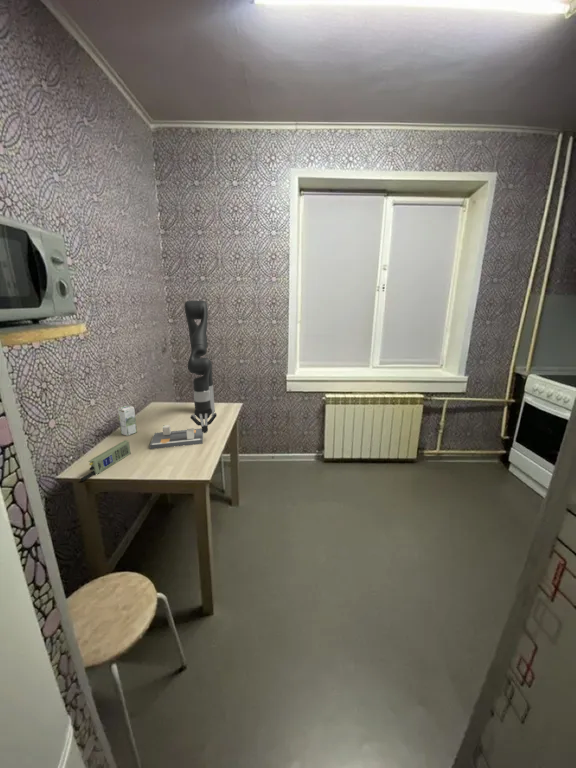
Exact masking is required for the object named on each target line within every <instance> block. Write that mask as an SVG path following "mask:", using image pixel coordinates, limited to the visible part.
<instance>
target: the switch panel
mask: <svg viewBox="0 0 576 768" xmlns="http://www.w3.org/2000/svg"><path fill="white" fill-rule="evenodd" d="M203 441H204V433H203V432H202V427H201V428H194V439H187V429H184V430H183V429H182V430H171V433H170V435H163V431H162V432H160V431H159V432H154V434H153V435H152V438H151V441H150V443H149V450H155V449H154V448H157V449H164V448H165V447H166V448H173V447H174V446H175V447H182V446H183V445H185V446H193V444H194V445H200V444H201V445H202V444H204V442H203ZM183 447H184V446H183Z"/></svg>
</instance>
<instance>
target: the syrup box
mask: <svg viewBox="0 0 576 768" xmlns="http://www.w3.org/2000/svg"><path fill="white" fill-rule="evenodd" d="M135 411H136V410H135V407H134V406H131V405H125V406H122V407H118V408H117V413H118V422H119V428H120V434H121V435H124V436H127V437H128V436H132V435H134V434H136V433H138V428H137V421H136V412H135Z"/></svg>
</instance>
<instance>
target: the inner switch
mask: <svg viewBox="0 0 576 768" xmlns="http://www.w3.org/2000/svg"><path fill="white" fill-rule="evenodd" d="M171 431H172V429H171V424H167V425H166V424H165V425H163V426H162V432H163V435H170V433H171Z"/></svg>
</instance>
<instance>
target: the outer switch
mask: <svg viewBox="0 0 576 768" xmlns="http://www.w3.org/2000/svg"><path fill="white" fill-rule="evenodd" d="M194 429H195V428H193V427H191V428H186V430H187V439H194Z"/></svg>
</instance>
